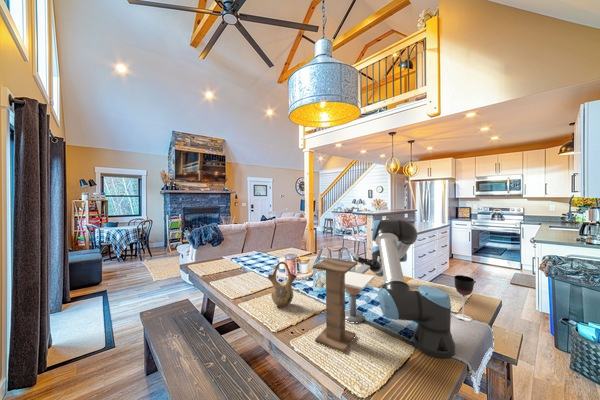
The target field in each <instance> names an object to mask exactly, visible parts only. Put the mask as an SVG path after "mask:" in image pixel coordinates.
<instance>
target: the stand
mask: <svg viewBox="0 0 600 400" xmlns="http://www.w3.org/2000/svg"><path fill="white" fill-rule="evenodd" d="M357 265H358V262H357V261H351V260H345V259H339V258H338V259H337V258H333V257H326V258H325V259H323V260H321V261H319V262H317V263H316V264H314V265H312V269H316V270H319V271H325V289H326V290H325V303H326V304H325V312H326V314H325V316H326V317H325V318H326V320H325V321H326V323H325V324H326V327H325V328H323V330H322V331H321V332H320V333H319V334H318V336H317V337H316V338H315V339H314V343H315V342H317V343H316V344H318V343H320V344H323V345H325V346H324V347H326V346H327V347H326V348H328V347H330V348H329V349H331V348H332V349H331V350H333V349H335V350H334V351H336V350H338V351H337V352H339V351H341V352H343V353H342V354H345V353H346V352H345V351H347V350H348V349H349V347H350V346H351V344H352V343H353V341H354V340H353V339H355V338H356V337H357V334H356V333H355V332H352V331H349V330H347V329H346V321H345V311H346V289H345V273H347V272H348V271H350V270H352V269H353V268H355V267H356V266H357ZM355 336H356V337H355ZM354 337H355V338H354ZM352 340H353V341H352ZM351 342H352V343H351ZM350 343H351V344H350ZM320 344H319V345H320ZM323 345H322V346H323ZM349 345H350V346H349ZM347 348H348V349H347ZM346 349H347V350H346ZM341 352H340V353H341ZM344 352H345V353H344Z"/></svg>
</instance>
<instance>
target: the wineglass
mask: <svg viewBox="0 0 600 400" xmlns="http://www.w3.org/2000/svg"><path fill="white" fill-rule="evenodd" d="M453 277H454V287H455V290H456V292H457V293H459V294H460V295H461V296H462V313H456V314H457V315H458V316H460V317H463V318H468V319H472V320H473V318H472V317H470V316H468V315H466V314H465V304H466V303H465V300H466V299H465V298H466V297H465V296H469V295H471V294H472V293H473V291H474V286H475V285H474V284H475V283H474V282H475V279H474V277H473V278H472V277H471V276H467V275H464V274H463V275H460V274H457V275H454V276H453Z"/></svg>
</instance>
